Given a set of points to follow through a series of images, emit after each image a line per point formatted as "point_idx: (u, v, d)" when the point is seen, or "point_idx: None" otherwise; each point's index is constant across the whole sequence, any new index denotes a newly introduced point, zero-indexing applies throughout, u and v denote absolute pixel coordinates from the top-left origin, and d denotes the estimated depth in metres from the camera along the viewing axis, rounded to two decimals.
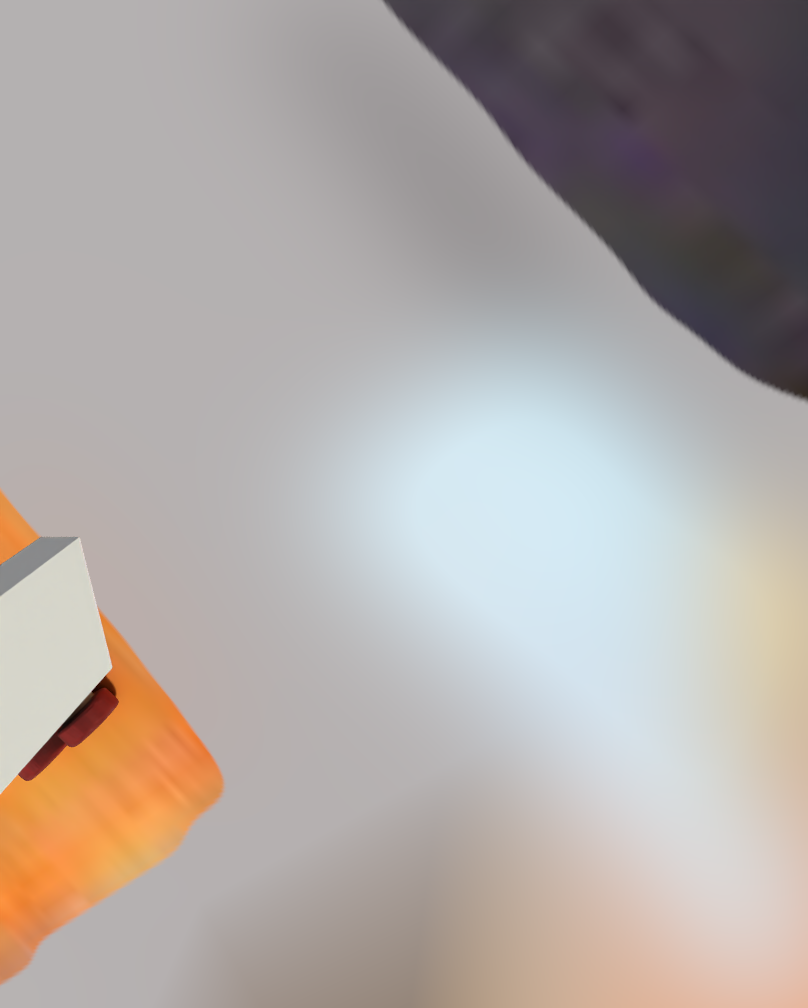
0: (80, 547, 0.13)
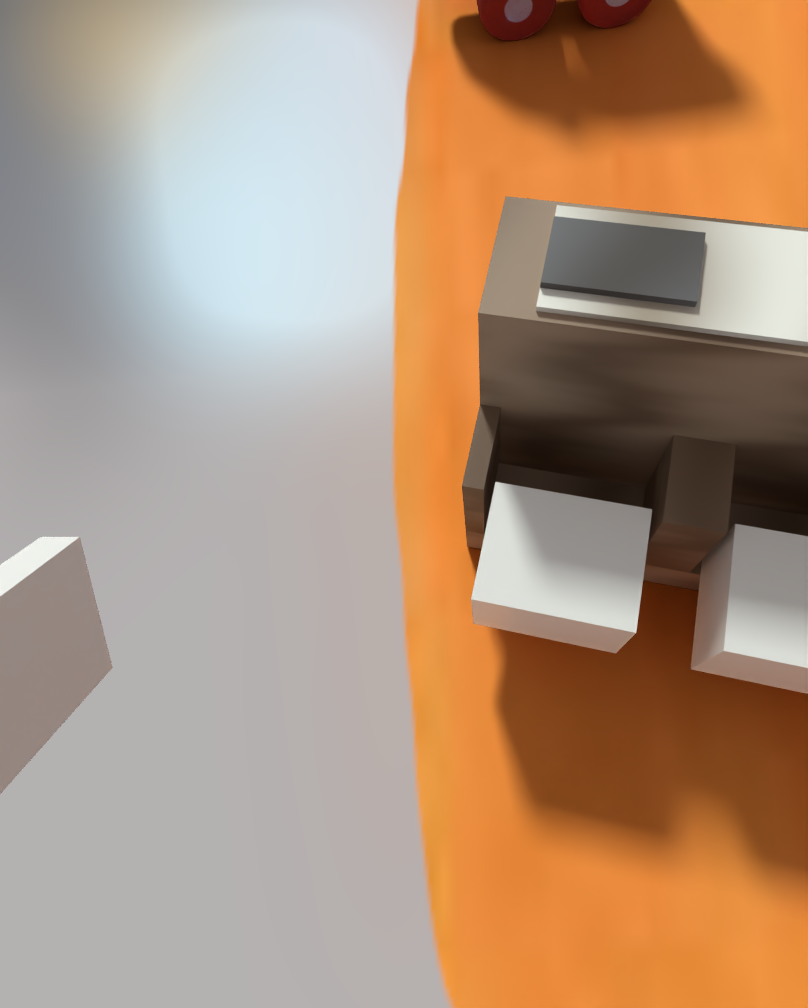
0: (80, 547, 0.13)
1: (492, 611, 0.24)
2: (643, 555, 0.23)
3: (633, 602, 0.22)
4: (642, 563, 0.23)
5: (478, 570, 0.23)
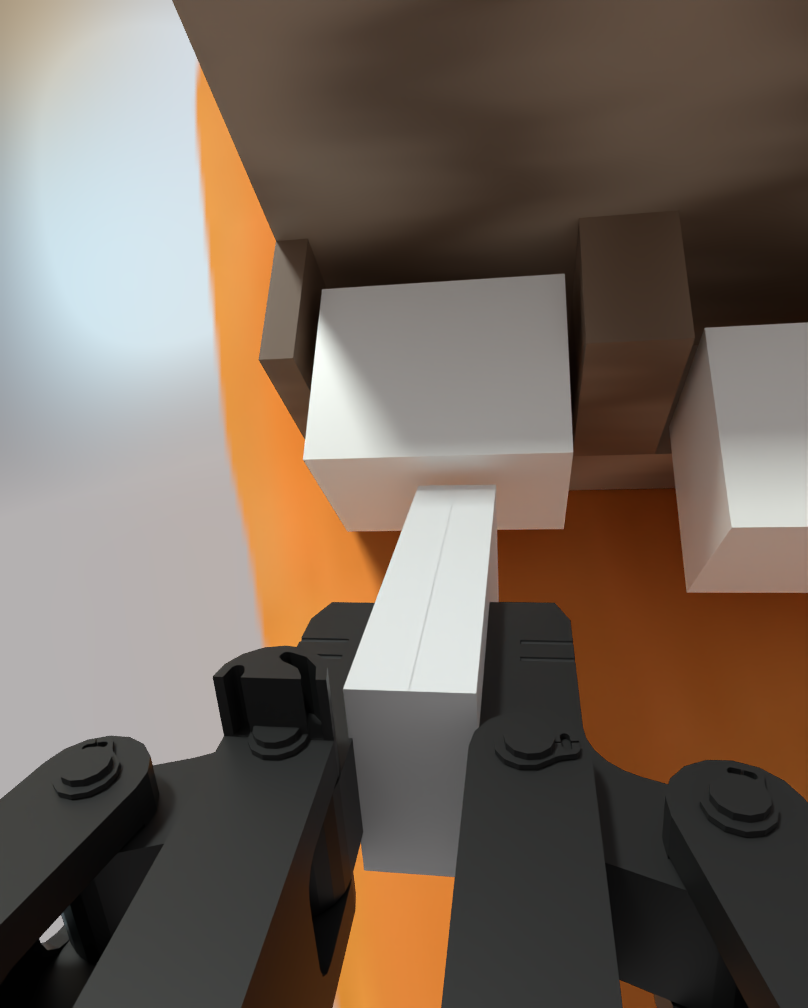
0: None
1: (350, 483, 0.15)
2: (563, 339, 0.14)
3: (560, 408, 0.14)
4: (564, 350, 0.14)
5: (310, 415, 0.14)
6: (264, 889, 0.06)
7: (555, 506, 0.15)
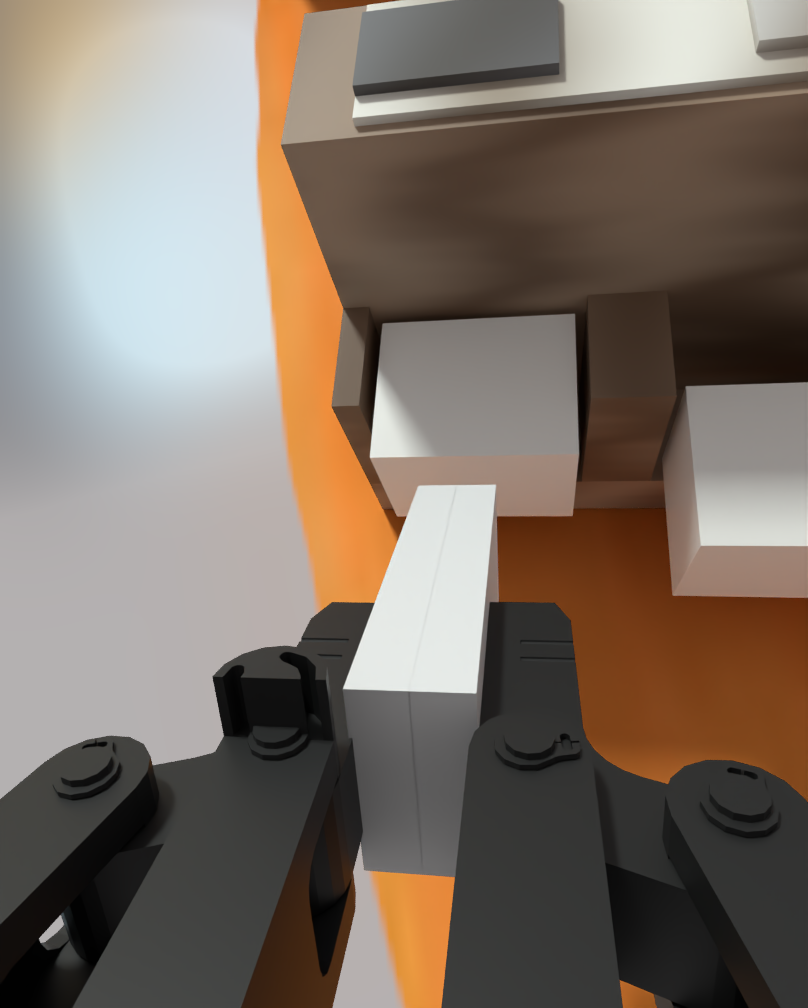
0: None
1: (404, 477, 0.19)
2: (573, 366, 0.18)
3: (569, 420, 0.18)
4: (573, 375, 0.18)
5: (374, 423, 0.18)
6: (264, 888, 0.06)
7: (565, 497, 0.19)
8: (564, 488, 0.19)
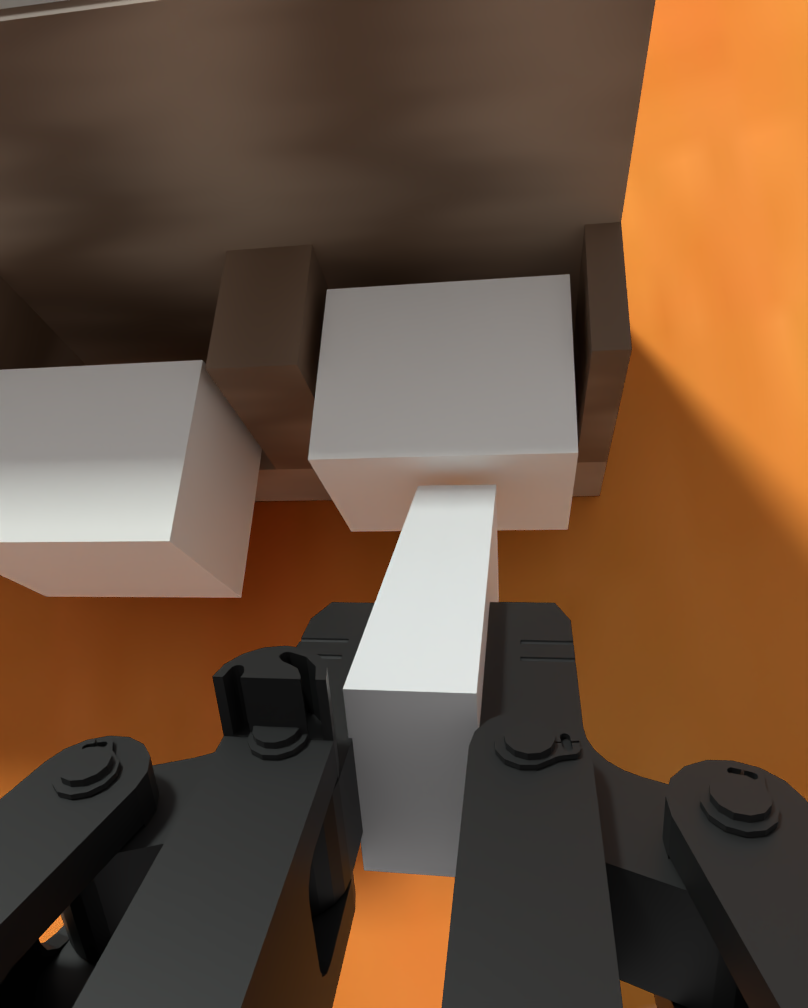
0: None
1: None
2: None
3: None
4: None
5: None
6: (264, 888, 0.06)
7: None
8: None
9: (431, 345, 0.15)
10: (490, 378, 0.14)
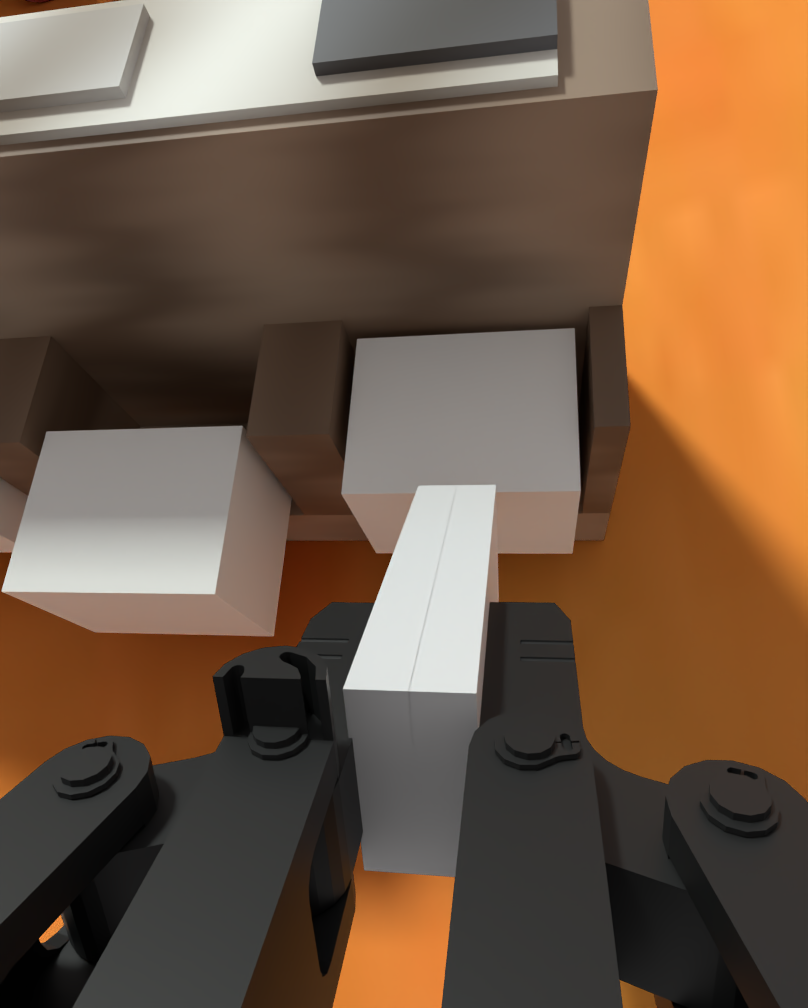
0: None
1: None
2: None
3: None
4: None
5: None
6: (264, 888, 0.06)
7: None
8: None
9: (451, 392, 0.16)
10: (502, 423, 0.16)
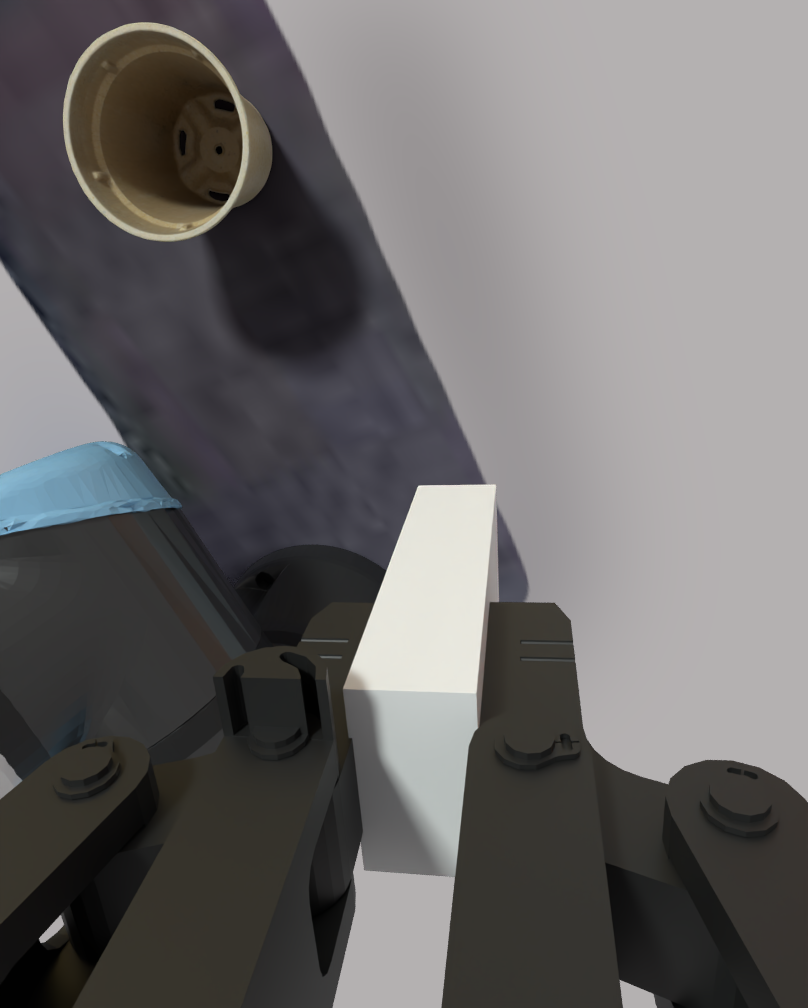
0: None
1: None
2: None
3: None
4: None
5: None
6: (264, 889, 0.06)
7: None
8: None
9: None
10: None
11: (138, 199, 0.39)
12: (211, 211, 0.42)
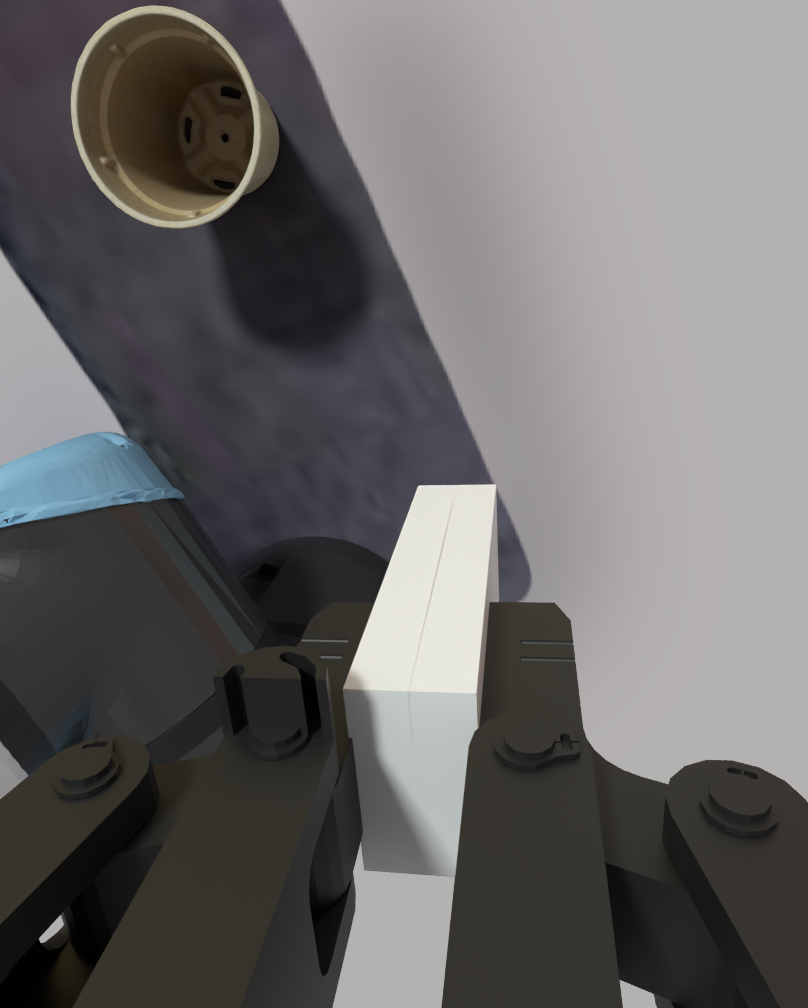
0: None
1: None
2: None
3: None
4: None
5: None
6: (264, 889, 0.06)
7: None
8: None
9: None
10: None
11: (145, 186, 0.39)
12: (217, 199, 0.41)
